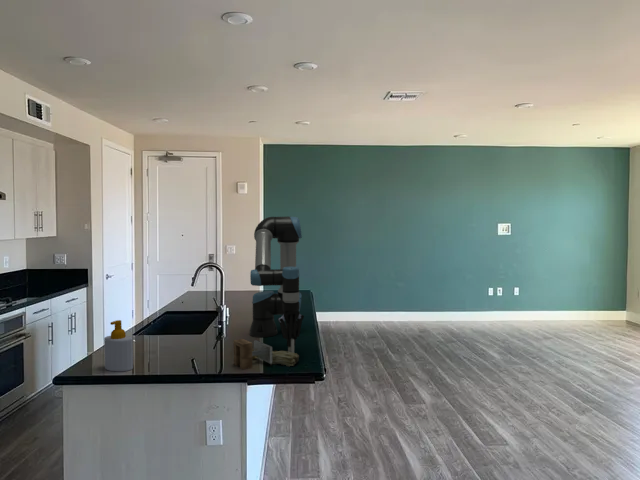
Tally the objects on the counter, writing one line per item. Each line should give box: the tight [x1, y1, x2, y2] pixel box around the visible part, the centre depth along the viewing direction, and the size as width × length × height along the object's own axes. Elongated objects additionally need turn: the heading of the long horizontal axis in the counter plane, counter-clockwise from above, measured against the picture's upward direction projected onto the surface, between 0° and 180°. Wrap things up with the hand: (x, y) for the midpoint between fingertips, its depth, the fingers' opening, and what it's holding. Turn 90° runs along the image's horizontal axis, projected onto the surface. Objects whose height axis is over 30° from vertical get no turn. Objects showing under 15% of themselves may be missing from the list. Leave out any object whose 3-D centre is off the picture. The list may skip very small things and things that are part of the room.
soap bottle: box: [103, 319, 134, 372], centre depth 192 cm, size 13×8×20 cm, turn 69°
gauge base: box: [233, 338, 258, 370], centre depth 199 cm, size 12×12×10 cm
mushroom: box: [270, 350, 300, 367], centre depth 199 cm, size 14×10×5 cm, turn 68°
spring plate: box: [252, 339, 273, 364], centre depth 197 cm, size 10×14×7 cm
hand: (291, 353), depth 205 cm, fingers closed
